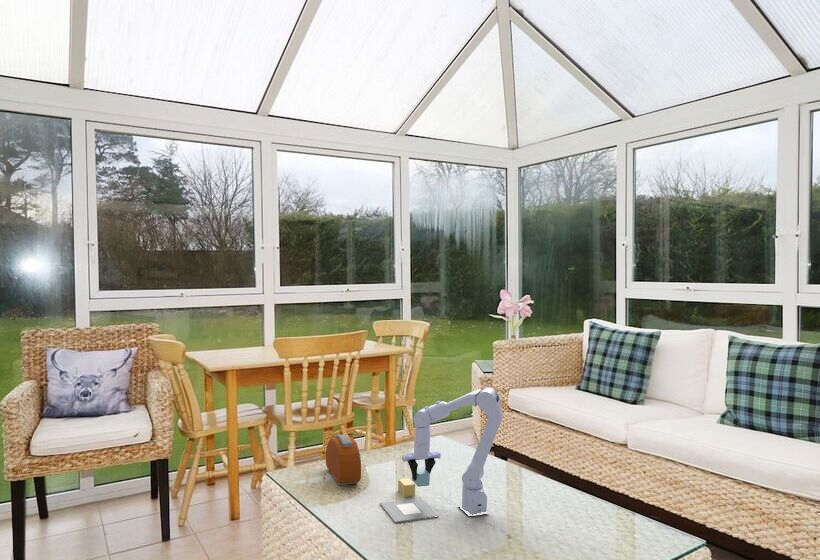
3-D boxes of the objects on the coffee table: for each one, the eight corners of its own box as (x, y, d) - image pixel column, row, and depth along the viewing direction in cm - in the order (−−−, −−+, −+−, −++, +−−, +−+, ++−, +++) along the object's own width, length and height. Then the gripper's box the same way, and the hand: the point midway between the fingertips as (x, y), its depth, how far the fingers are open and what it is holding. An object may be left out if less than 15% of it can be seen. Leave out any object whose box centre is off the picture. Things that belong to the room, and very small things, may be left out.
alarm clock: (361, 486, 223) (362, 443, 222) (338, 488, 219) (340, 445, 219) (345, 465, 244) (346, 427, 244) (324, 468, 241) (326, 428, 241)
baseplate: (438, 517, 197) (438, 515, 197) (394, 523, 191) (395, 521, 191) (420, 499, 212) (420, 497, 212) (379, 504, 206) (379, 502, 206)
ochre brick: (414, 495, 215) (415, 484, 215) (404, 497, 214) (404, 485, 213) (408, 489, 221) (409, 478, 221) (397, 490, 219) (398, 479, 219)
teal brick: (429, 485, 207) (429, 473, 207) (418, 486, 206) (418, 474, 206) (422, 479, 213) (423, 467, 213) (411, 480, 212) (412, 468, 212)
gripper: (435, 437, 215) (434, 473, 216) (399, 440, 210) (398, 477, 211) (443, 443, 209) (442, 480, 209) (406, 446, 204) (405, 484, 204)
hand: (420, 479), depth 209 cm, fingers closed on teal brick, 4 cm apart
